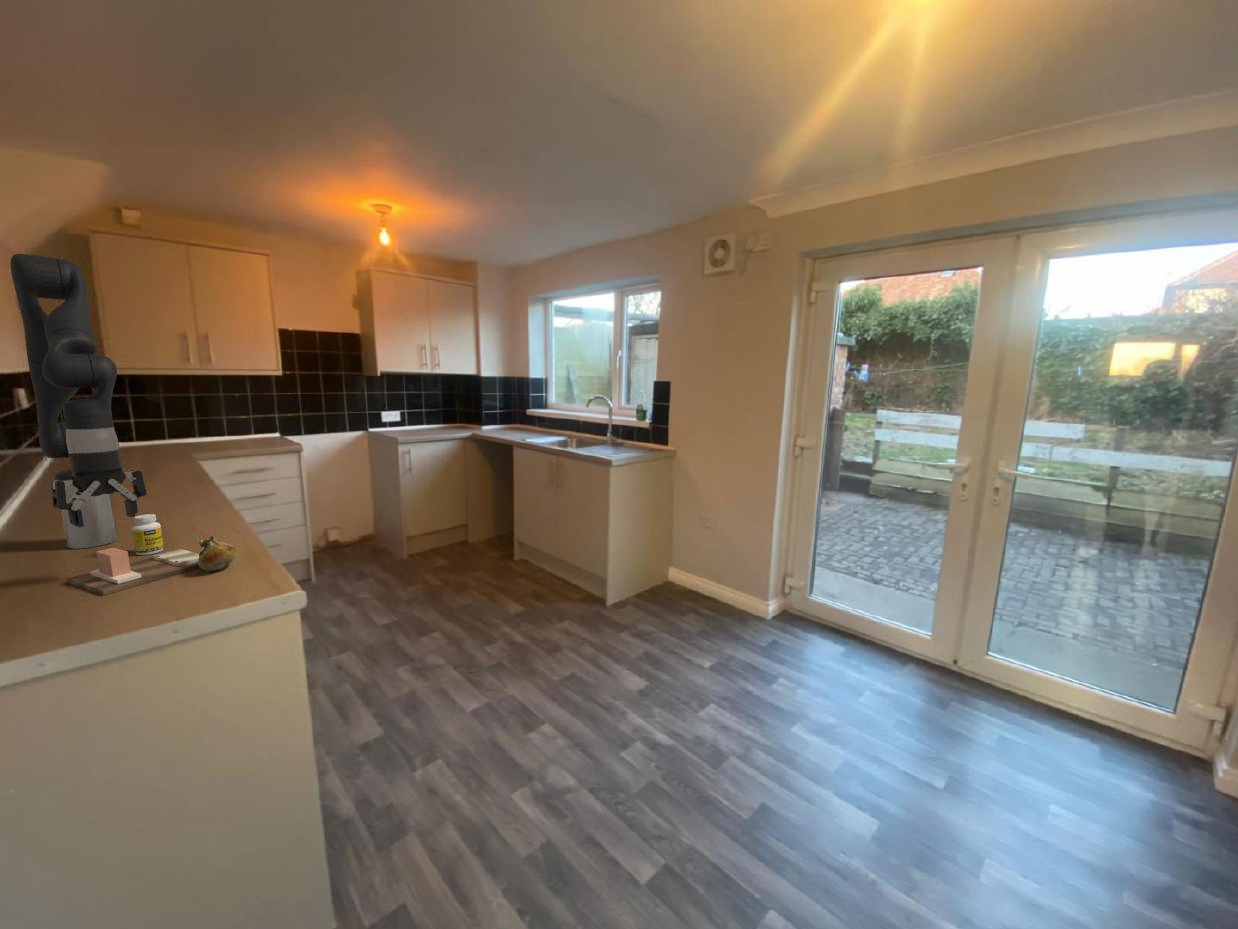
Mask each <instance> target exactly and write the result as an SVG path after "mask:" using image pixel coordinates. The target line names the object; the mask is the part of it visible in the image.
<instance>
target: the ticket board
mask: <svg viewBox="0 0 1238 929" xmlns="http://www.w3.org/2000/svg"><path fill="white" fill-rule="evenodd" d="M199 554H200V553H198V552H194V551H190V550H186V549H181V548H178V549H174V550H170V551H166V552H162V553H161V552H160V553H158V554H157V553H156V554H152V556H149V557H145V558H142V559H138V560H133V561H129V563H130V570H131V571H133V572H136V573H140V574H141V578H137V579H133V580H130V581H126V582H123V583H119V584H117V583H114V582H111V581H108V580H105V579H102V578H99V577H96V576H93V575H90V572H85V573H82V574H79V575H73V576H70V577H67V578H66V580H67V583H68V584H70V585H74V586H76V587H78V588H79V587H80V588H82V589H84V590H87V589H88V591H89V592H93V593H95V594H99V595H101V596H108V595H111V594H115V593H117V592H122V591H125V590H128V589H132V588H135V587H139V586H142V585H146V584H149V583H153V582H156V581H159V580H163V579H166V578H170V577H173V576H177V575H180V574H184V573H187V572H190V571H193V570H197V569H201V568H200V567H199V565H198V559H199Z"/></svg>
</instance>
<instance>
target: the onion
mask: <svg viewBox="0 0 1238 929" xmlns="http://www.w3.org/2000/svg"><path fill="white" fill-rule="evenodd" d="M198 544H199V547H201V548H203V550H202V551H199V553H198V554H199V559H198V565H199V567H200V568H199V569H201V570H202V571H206V572H215V571H216V572H217V570H218V571H222V570H225V569H226V568H228V567H229V566H230V565H231V564H232V563H233V561H234V560H235V559H236V556H237V549H236V547H235V546H234V545H233V544H231V543H226V542H222V541H218V540H217V539H216V536H213V535H210V536H209V537H207V538H205V539H204V540H202V539H200V540H199V541H198Z"/></svg>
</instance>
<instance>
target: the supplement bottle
mask: <svg viewBox="0 0 1238 929" xmlns="http://www.w3.org/2000/svg"><path fill="white" fill-rule="evenodd" d="M156 521H157V516H156V514H152V513H151V514H150V513H148V514H147V513H146V514H140V515H135V516H134V523H135V525H133V526H132V528H131V530H132V532H131V533H132V537H133V538H132V540H133V546H134V551H135V555H137V556H148V555H156V554H157V553H158V554H159V553H161V552H162V551H164V548H165V547H164V540H163V533H162V526H161V524H160V523H159V522H158V521H157V522H156Z"/></svg>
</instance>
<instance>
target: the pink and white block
mask: <svg viewBox="0 0 1238 929" xmlns="http://www.w3.org/2000/svg"><path fill="white" fill-rule="evenodd" d="M95 555H96V561H97V566H98V569H94V570H89V573H90V575H93V576H96V577H99V578H102V579H105V580H108V581H111V582H114V583H117V584H119V583H123V582H126V581H130V580H133V579H137V578H141V574H140V573H136V572H133V571H131V570H130V563H129V562H130V559H129V553H128V551H127V550H124V549H121V548H117V547H111V548H106V549H102V550H97V551H95Z"/></svg>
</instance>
